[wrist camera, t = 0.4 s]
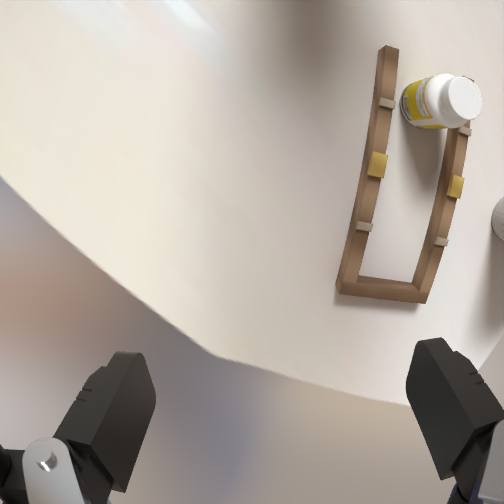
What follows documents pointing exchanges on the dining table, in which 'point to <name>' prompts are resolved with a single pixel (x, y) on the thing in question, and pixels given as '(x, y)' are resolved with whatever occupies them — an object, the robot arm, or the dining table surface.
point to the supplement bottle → (441, 102)
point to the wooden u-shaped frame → (368, 192)
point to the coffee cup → (498, 219)
